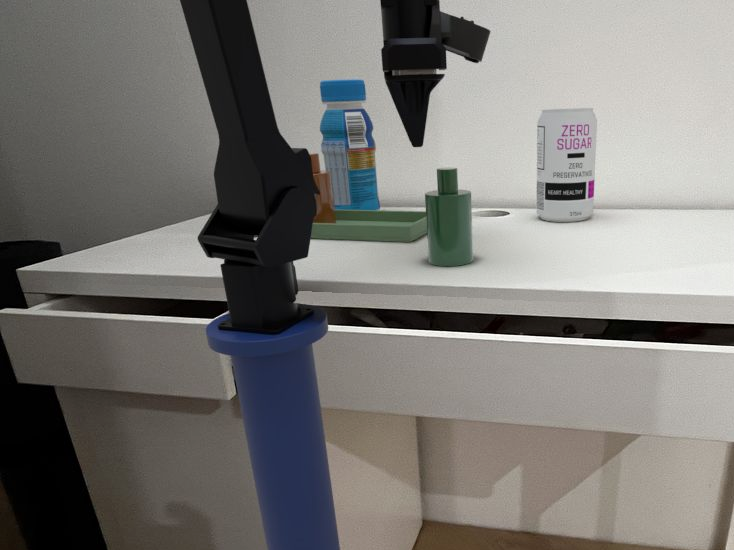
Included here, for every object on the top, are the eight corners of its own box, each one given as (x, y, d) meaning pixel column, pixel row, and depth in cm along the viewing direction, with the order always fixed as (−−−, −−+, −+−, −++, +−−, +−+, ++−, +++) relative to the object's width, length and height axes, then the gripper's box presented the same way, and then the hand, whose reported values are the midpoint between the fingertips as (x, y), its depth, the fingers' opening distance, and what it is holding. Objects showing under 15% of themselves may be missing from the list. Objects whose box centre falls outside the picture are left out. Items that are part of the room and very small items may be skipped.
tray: (410, 242, 80) (409, 226, 79) (209, 234, 89) (206, 220, 88) (440, 225, 89) (440, 211, 89) (256, 220, 99) (254, 207, 98)
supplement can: (562, 211, 97) (564, 108, 92) (604, 217, 91) (609, 107, 86) (525, 218, 92) (525, 110, 87) (566, 225, 86) (570, 110, 81)
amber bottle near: (325, 230, 86) (316, 155, 83) (294, 229, 88) (284, 155, 84) (343, 223, 91) (335, 152, 87) (313, 222, 92) (304, 152, 88)
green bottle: (465, 267, 67) (461, 171, 63) (422, 265, 68) (416, 171, 64) (478, 256, 71) (476, 165, 67) (437, 254, 73) (433, 166, 69)
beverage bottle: (321, 218, 98) (304, 80, 90) (338, 209, 106) (324, 81, 98) (373, 218, 97) (361, 78, 89) (386, 209, 104) (376, 79, 97)
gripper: (497, -32, 57) (499, 147, 63) (472, -1, 74) (476, 137, 80) (375, -31, 56) (388, 151, 62) (378, 1, 73) (389, 141, 79)
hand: (416, 144), depth 71 cm, fingers open, 9 cm apart
